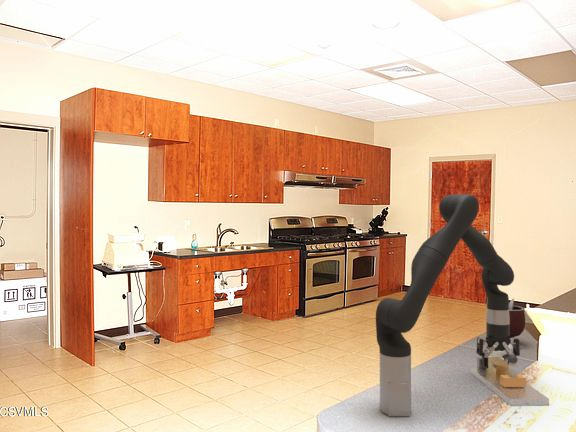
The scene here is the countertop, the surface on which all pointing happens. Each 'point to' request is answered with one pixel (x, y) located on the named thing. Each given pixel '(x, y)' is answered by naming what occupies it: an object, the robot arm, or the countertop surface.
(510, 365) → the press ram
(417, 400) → the countertop surface
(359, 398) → the countertop surface
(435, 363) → the countertop surface
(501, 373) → the block
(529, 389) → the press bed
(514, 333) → the mate gourd
